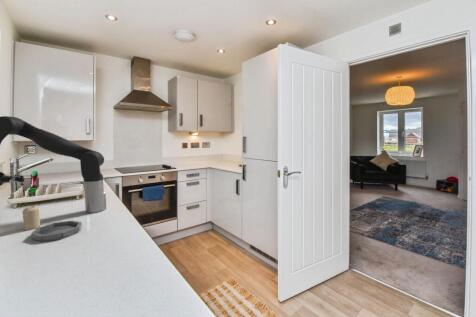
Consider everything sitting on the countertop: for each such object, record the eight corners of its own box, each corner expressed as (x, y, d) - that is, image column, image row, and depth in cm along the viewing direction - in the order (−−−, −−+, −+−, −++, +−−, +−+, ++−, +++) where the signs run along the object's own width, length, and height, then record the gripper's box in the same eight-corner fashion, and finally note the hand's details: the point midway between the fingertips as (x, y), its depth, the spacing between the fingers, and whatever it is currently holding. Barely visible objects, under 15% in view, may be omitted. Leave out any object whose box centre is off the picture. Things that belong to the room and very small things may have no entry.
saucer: (65, 224, 110) (65, 219, 110) (89, 228, 104) (88, 223, 104) (24, 238, 95) (23, 232, 95) (49, 244, 89) (49, 237, 89)
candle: (30, 230, 103) (28, 208, 102) (20, 229, 104) (18, 207, 103) (43, 226, 108) (41, 205, 107) (33, 225, 109) (32, 204, 108)
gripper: (-30, 172, 106) (-9, 175, 101) (9, 169, 120) (29, 171, 114) (-29, 188, 107) (-8, 192, 102) (10, 183, 120) (30, 186, 115)
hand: (12, 181), depth 108 cm, fingers open, 8 cm apart
